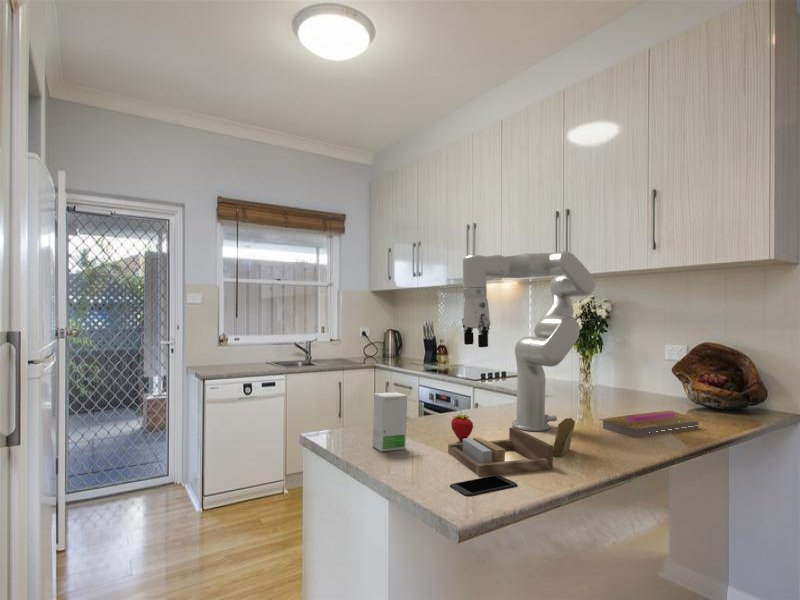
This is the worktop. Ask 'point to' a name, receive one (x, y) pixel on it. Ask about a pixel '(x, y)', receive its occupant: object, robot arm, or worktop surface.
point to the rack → (518, 442)
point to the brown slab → (650, 423)
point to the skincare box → (389, 421)
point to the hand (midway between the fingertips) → (475, 345)
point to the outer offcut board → (477, 451)
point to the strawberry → (462, 426)
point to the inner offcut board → (493, 450)
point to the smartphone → (483, 485)
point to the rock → (563, 437)
